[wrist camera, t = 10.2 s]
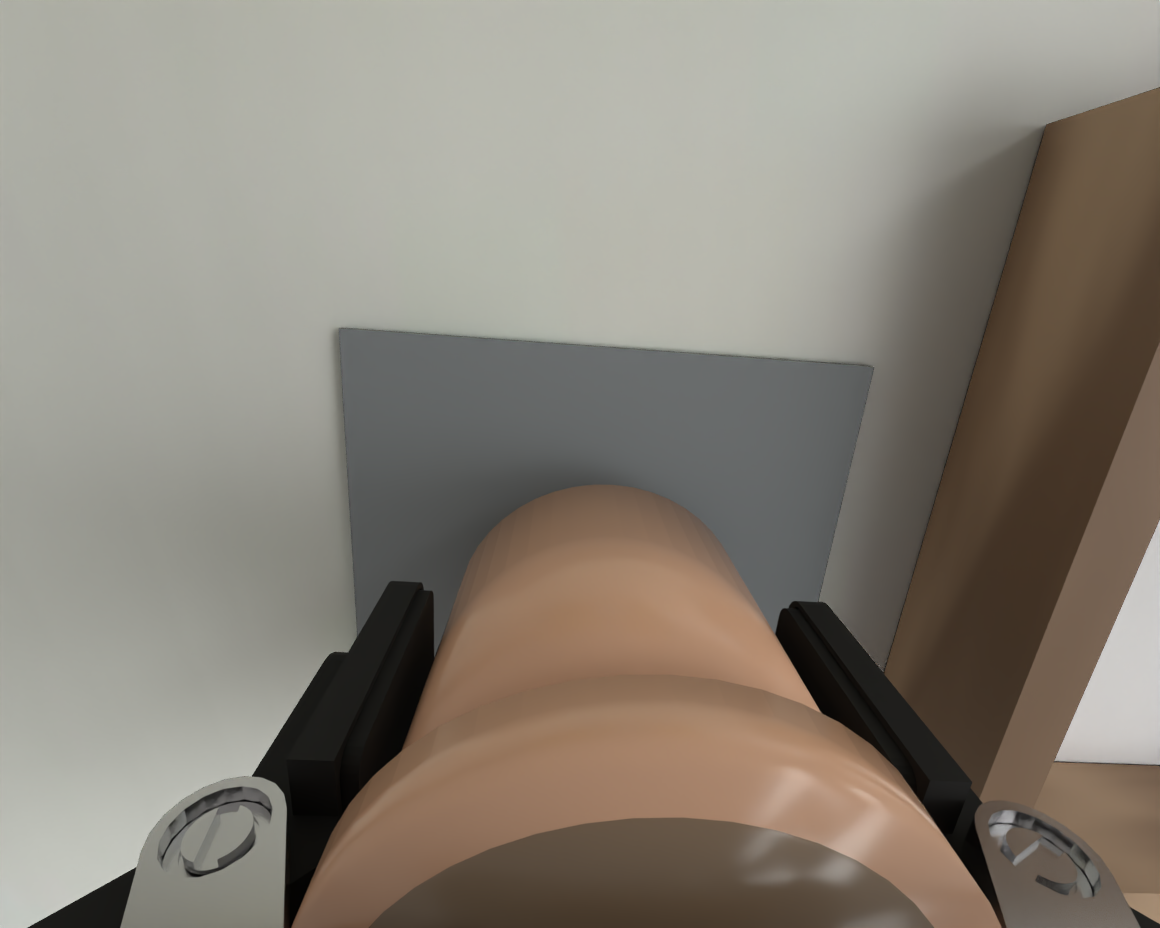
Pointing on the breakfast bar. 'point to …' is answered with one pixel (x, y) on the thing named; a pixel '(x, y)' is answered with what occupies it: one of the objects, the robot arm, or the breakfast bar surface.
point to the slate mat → (589, 451)
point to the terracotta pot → (628, 756)
